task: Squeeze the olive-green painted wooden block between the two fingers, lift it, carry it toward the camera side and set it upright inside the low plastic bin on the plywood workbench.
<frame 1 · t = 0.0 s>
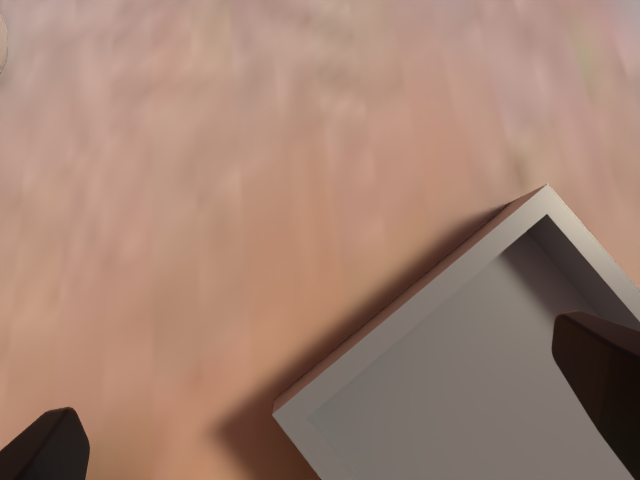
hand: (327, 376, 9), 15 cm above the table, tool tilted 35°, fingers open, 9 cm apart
bin: (515, 439, 23), on the table
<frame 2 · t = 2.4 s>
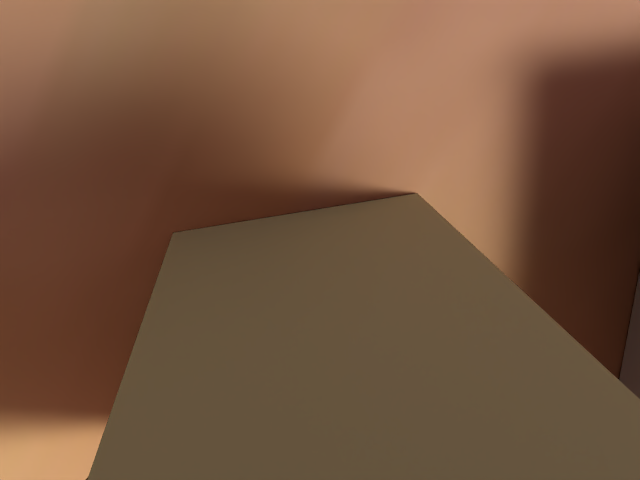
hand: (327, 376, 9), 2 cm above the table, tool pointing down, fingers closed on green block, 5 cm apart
green block: (312, 315, 11), on the table, touching gripper
when the fingers open (4 cm above the table, at t = 7.6 s): green block drops 1 cm, resting on bin.
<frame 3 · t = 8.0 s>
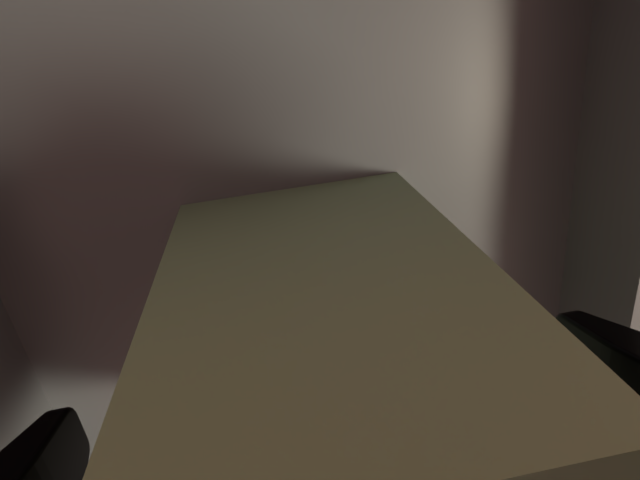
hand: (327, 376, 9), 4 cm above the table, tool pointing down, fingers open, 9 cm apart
green block: (304, 282, 12), point 1 cm above the table, touching bin
bin: (301, 266, 13), on the table
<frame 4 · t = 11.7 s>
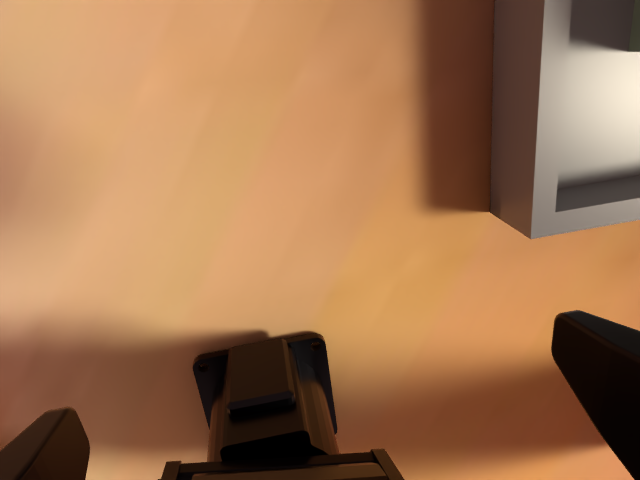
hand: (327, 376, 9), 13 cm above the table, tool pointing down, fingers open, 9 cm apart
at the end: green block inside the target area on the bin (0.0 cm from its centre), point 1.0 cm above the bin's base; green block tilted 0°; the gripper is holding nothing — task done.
